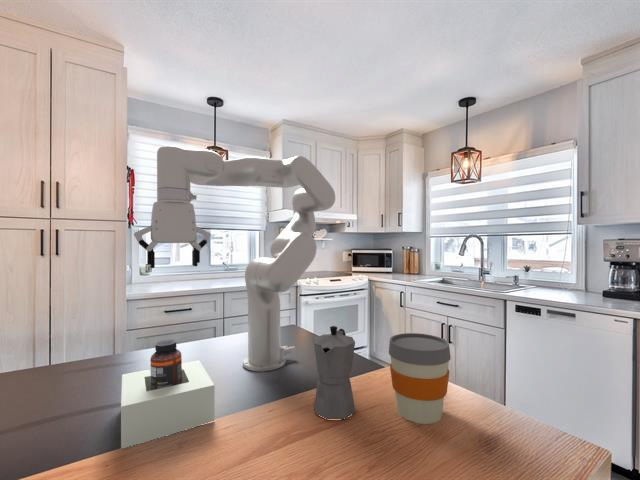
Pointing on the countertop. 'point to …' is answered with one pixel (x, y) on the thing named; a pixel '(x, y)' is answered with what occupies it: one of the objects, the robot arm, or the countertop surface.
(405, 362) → the reusable coffee cup
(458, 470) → the countertop surface
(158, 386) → the supplement bottle
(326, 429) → the countertop surface
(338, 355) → the coffeepot
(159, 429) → the sage block
